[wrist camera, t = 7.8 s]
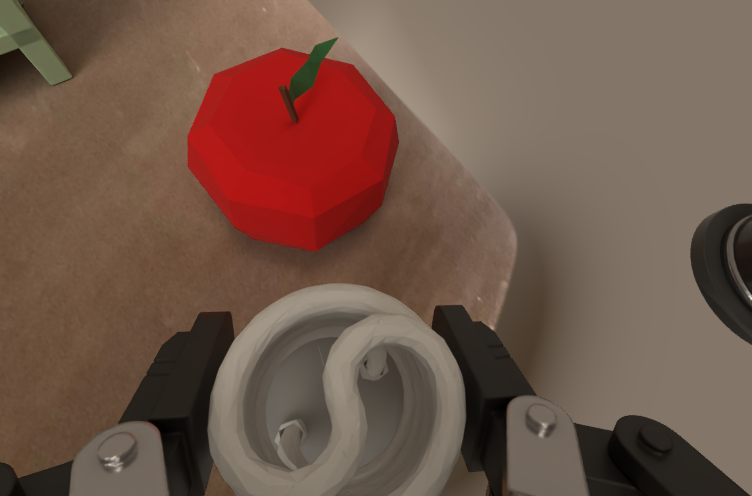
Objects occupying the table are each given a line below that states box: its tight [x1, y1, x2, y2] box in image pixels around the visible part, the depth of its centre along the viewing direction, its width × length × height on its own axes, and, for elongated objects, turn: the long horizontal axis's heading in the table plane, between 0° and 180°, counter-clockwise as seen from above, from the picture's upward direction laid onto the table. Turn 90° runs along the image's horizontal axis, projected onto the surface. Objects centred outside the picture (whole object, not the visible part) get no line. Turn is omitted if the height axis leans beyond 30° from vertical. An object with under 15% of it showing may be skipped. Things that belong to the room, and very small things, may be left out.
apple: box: [188, 38, 399, 252], centre depth 21 cm, size 11×11×10 cm
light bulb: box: [207, 283, 466, 496], centre depth 13 cm, size 6×6×12 cm
